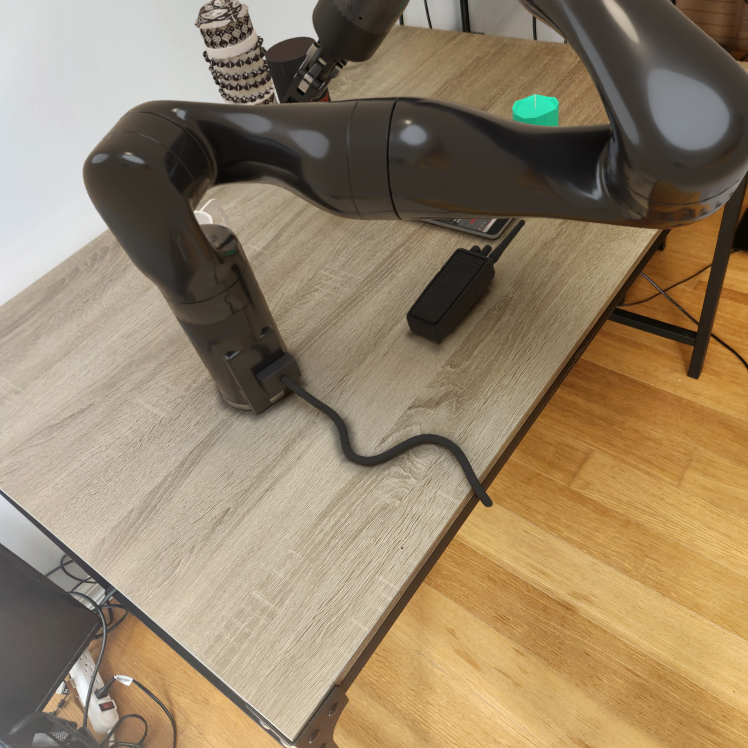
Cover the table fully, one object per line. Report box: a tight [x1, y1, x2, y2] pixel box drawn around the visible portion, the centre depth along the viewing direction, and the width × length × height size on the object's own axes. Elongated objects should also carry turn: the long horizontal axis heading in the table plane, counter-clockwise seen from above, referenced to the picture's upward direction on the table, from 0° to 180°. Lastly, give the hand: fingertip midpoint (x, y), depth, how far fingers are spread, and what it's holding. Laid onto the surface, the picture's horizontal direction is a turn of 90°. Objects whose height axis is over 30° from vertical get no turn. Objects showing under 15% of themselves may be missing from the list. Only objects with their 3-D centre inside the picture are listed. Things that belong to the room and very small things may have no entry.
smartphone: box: [420, 218, 514, 240], centre depth 91 cm, size 7×1×15 cm
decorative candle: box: [194, 0, 280, 105], centre depth 101 cm, size 9×9×25 cm
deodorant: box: [264, 36, 332, 104], centre depth 78 cm, size 6×6×15 cm
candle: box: [511, 93, 560, 126], centre depth 89 cm, size 6×6×12 cm
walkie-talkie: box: [405, 218, 526, 344], centre depth 78 cm, size 6×6×20 cm
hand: (295, 109), depth 78 cm, fingers closed on deodorant, 6 cm apart
